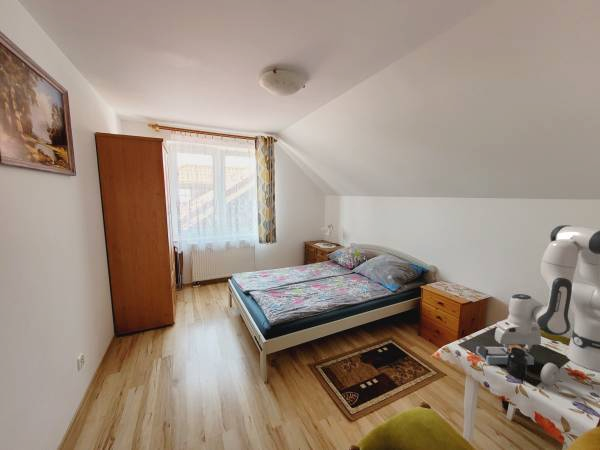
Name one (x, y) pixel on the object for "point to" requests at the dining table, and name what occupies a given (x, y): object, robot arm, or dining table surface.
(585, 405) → the dining table surface
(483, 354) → the grey block
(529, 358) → the channel
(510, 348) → the block
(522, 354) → the supplement bottle
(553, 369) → the donut
